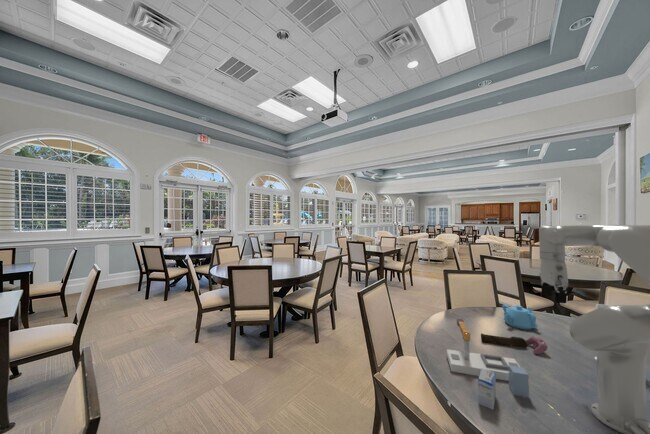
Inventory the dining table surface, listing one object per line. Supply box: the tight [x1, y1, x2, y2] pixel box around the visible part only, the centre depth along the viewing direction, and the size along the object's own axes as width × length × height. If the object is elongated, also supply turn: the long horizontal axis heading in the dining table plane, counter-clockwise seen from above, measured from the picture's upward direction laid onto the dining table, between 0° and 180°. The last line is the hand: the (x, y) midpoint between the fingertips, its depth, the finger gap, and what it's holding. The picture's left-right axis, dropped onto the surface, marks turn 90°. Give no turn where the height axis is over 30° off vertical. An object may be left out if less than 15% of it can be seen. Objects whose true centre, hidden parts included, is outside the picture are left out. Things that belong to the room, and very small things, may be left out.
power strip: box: [446, 339, 521, 382], centre depth 102 cm, size 12×26×11 cm, turn 71°
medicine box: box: [477, 368, 497, 410], centre depth 84 cm, size 8×4×9 cm, turn 141°
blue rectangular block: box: [508, 365, 530, 398], centre depth 88 cm, size 4×4×8 cm
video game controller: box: [524, 335, 549, 355], centre depth 115 cm, size 10×5×7 cm, turn 164°
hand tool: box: [480, 332, 528, 349], centre depth 121 cm, size 19×4×5 cm, turn 65°
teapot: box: [502, 304, 538, 330], centre depth 143 cm, size 15×17×11 cm
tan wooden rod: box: [456, 318, 471, 342], centre depth 110 cm, size 3×17×3 cm, turn 160°
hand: (553, 298), depth 97 cm, fingers open, 9 cm apart
